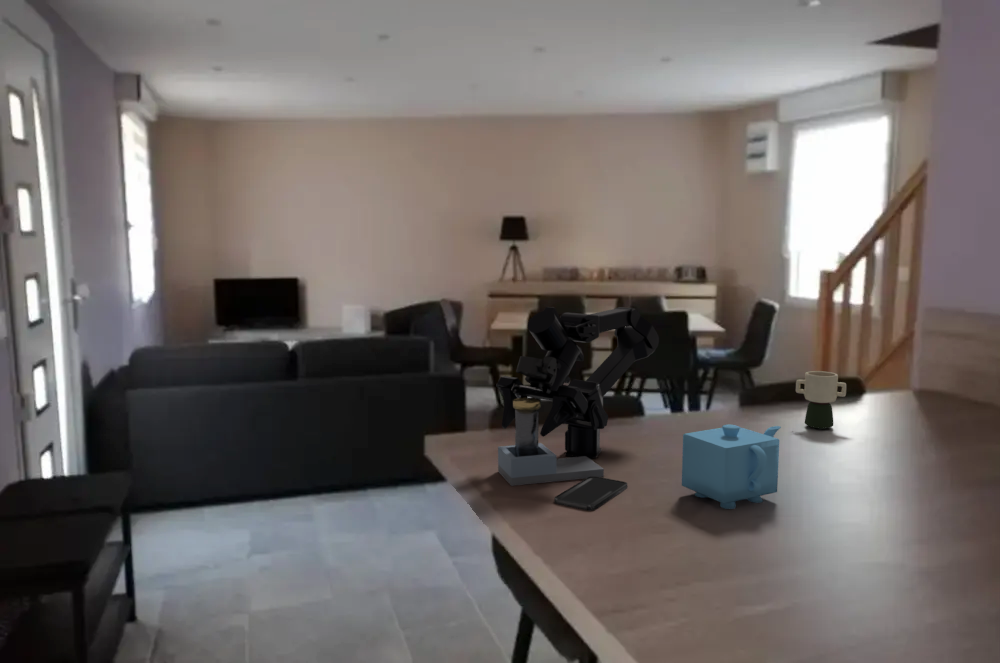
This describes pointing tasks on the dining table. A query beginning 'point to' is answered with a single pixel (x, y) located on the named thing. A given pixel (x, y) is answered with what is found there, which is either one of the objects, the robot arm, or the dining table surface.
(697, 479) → the teapot
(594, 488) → the phone
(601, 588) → the dining table surface
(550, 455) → the hitch socket
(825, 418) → the trophy cup
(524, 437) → the pin
